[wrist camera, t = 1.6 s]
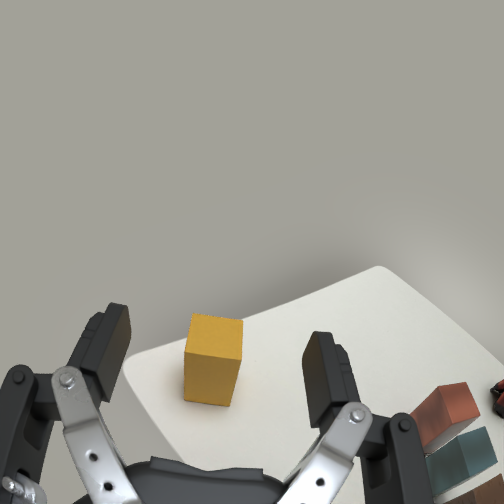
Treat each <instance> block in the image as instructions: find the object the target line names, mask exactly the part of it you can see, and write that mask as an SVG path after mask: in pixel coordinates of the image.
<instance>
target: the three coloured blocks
mask: <svg viewBox="0 0 504 504" xmlns="http://www.w3.org/2000/svg"><path fill="white" fill-rule="evenodd" d="M409 415H410V416H412V417H413V419H414V420H415V422H416V424H417V427H418V431H419V435H420V439H421V443H422V447H423V451H424V454H427V453H430V452H434V451H435V450H437V449H438V448H440V447H441V446H443V445H444V444H445V443H447V442H448V441H449V440H451V439H452V438H453V437H455V436H456V435H457V434H459V433H460V432H461V431H462V430H464V429H465V428H466V427H467V426H469V425H470V424H471V423H472V422H473V421H475V420H476V419H477V418H478V417H479V416H480V412H479V410H478V408H477V405H476V403H475V401H474V399H473V396H472V394H471V392H470V390H469V387H468V385H467V383H466V382H462V383H456V384H450V385H443V386H438V387H437V388H436V389H435V390H434V391H433V392H432V393H431V394H430V395H429V396H428V397H427V398H426V399H425V400H424V401H423V402H422V403H421V404H420V405H419V406H418V407H417V408H416V409H415V410H414V411H413V412H412V413H411V414H409ZM425 460H426V464H427V469H428V474H429V479H430V484H431V489H432V495H433V497H435V496H437V495H440V494H442V493H445V492H447V491H449V490H451V489H453V488H455V487H457V486H459V485H460V484H462V483H464V482H466V481H468V480H470V479H471V478H473V477H475V476H476V475H478V474H480V473H481V472H483V471H485V470H486V469H488V468H490V467H491V466H493V465H494V464H496V463H497V462H498V461H497V458H496V455H495V452H494V449H493V446H492V443H491V441H490V438H489V435H488V433H487V430H486V427H485V426H484V427H481V428H479V429H476V430H473V431H470V432H467V433H465V434H462V435H459V436H456V437H455V438H454V439H453V440H451V441H450V442H448V443H447V444H446V445H444V446H443V447H442V448H440V449H439V450H437V451H436V452H434V453H433V454H431V455H430V456H428V457H427V458H425ZM444 504H504V481H503V477H502V474H499V475H497V476H496V477H494V478H492V479H491V480H489V481H487V482H485V483H484V484H482V485H480V486H478V487H476V488H475V489H473V490H471V491H469V492H467V493H465V494H463V495H461V496H459V497H457V498H455V499H452V500H450V501H448V502H446V503H444Z"/></svg>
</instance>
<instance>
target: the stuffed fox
mask: <svg viewBox="0 0 504 504" xmlns="http://www.w3.org/2000/svg"><path fill="white" fill-rule="evenodd" d="M494 389H495V390H496V391H498V392H499V394H501V393H502V395H501V396H500V397H499V399H498V400H497V402H495V409H494V410H496V411H497V412H498V413H499V414H500V415H501V416H502V418H504V379H503V380H502V381H500V382H498V383H497V384H496V385H495V386H494V387H493V388H491V389H490V391H492V390H494Z"/></svg>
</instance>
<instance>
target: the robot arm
mask: <svg viewBox="0 0 504 504" xmlns="http://www.w3.org/2000/svg"><path fill="white" fill-rule="evenodd" d="M130 339H131V325H130V318H129V311H128V307H127V306H126V305H122V304H116V303H112V302H111V303H110V304H109V305H108V307H107V309H106V311H105V313H101V312H98V313H96V314H95V315H94V316H93V317H92V318H90V319H89V322H88V323H87V325H86V327H85V330H84V331H83V333H82V335H81V337H80V339H79V341H78V343H77V345H76V347H75V349H74V351H73V353H72V355H71V357H70V359H69V361H68V363H67V365H66V366H64V367H61V368H59V369H57V370H56V371H55V372H54V373H53V374H34V373H33V372H32V370H31V369H30V368H29V367H28V366H26V365H16V366H14V367H12V368H11V369H10V370H9V371H8V373H7V375H6V377H5V379H4V381H3V384H2V386H1V388H0V504H47V497H46V494H45V492H44V490H43V489H42V487H41V486H40V485H39V482H40V477H41V472H42V467H43V463H44V458H45V454H46V450H47V447H48V442H49V439H50V435H51V431H52V428H53V425H54V421H62V422H63V426H64V429H63V435H64V438H65V441H66V444H67V446H68V449H69V452H70V454H71V457H72V459H73V461H74V464H75V465H76V469H77V471H78V473H79V475H80V477H81V480H82V482H83V484H84V486H85V488H86V490H87V492H88V494H86V495H85V496H83V497H82V498H80V499H79V500H77V501H76V502H74V503H73V504H331V502H332V501H333V499H334V498H335V496H336V495H337V493H338V492H339V490H340V488H341V487H342V485H343V483H344V482H345V480H346V478H347V477H348V475H349V473H350V472H351V470H352V468H353V465H354V463H353V462H352V461H353V458H354V457H355V456H357V457H360V460H361V468H362V477H363V485H364V495H365V504H434V500H433V495H432V489H431V484H430V479H429V474H428V469H427V464H426V460H425V456H424V451H423V447H422V443H421V439H420V435H419V431H418V427H417V424H416V422H415V420H414V419H413V417H412V416H410V415H409V414H406V413H397V414H395V415H394V416H393V417H392V418H388V417H384V416H379V415H375V414H372V413H371V411H370V409H369V408H368V407H367V406H366V405H364V404H362V403H361V401H360V397H359V394H358V390H357V386H356V382H355V379H354V375H353V373H352V368H351V365H350V361H349V358H348V354H347V352H346V351H345V350H344V348H343V347H342V346H341V345H340V344H335V343H334V339H333V335H332V333H331V332H318V331H314V332H313V333H312V335H311V338H310V340H309V342H308V344H307V346H306V349H305V351H304V353H303V357H302V369H303V376H304V382H305V389H306V396H307V403H308V411H309V418H310V425H311V428H319V430H320V434H319V435H318V437H317V438H316V440H315V441H314V443H313V444H312V445H311V447H310V448H309V450H308V451H307V452H306V454H305V455H304V457H303V458H302V459H301V461H300V462H299V463H298V465H297V466H296V467H295V468H294V469H293V470H292V472H291V473H290V474H289V475H288V476H287V477H286V479H285V480H284V481H283V482H281V481H279V480H278V479H276V478H273V477H271V476H268V475H265V474H263V469H257V468H229V469H222V470H215V471H204V470H201V469H198V468H195V467H192V466H190V465H187V464H184V463H182V462H179V461H174V460H169V459H163V458H158V457H153V456H151V459H150V461H145V462H138V463H134V464H132V465H129V466H127V465H126V463H125V461H124V459H123V457H122V455H121V454H120V452H119V450H118V448H117V447H116V445H115V443H114V441H113V439H112V437H111V435H110V432H109V430H108V428H107V426H106V424H105V422H104V419H103V417H102V415H101V412H100V410H99V407H100V403H101V401H105V402H108V403H109V402H110V399H111V395H112V393H113V389H114V387H115V383H116V380H117V377H118V374H119V372H120V369H121V366H122V363H123V360H124V357H125V354H126V351H127V349H128V346H129V343H130Z"/></svg>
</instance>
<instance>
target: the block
mask: <svg viewBox="0 0 504 504" xmlns="http://www.w3.org/2000/svg"><path fill="white" fill-rule="evenodd" d="M242 338H243V320H235V319H228V318H221V317H214V316H208V315H201V314H195V313H193V315H192V320H191V324H190V328H189V333H188V337H187V342H186V347H185V351H184V400H187V401H193V402H199V403H206V404H214V405H222V406H230V402H231V399H232V395H233V391H234V387H235V384H236V380H237V376H238V372H239V368H240V364H241V361H242Z"/></svg>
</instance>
